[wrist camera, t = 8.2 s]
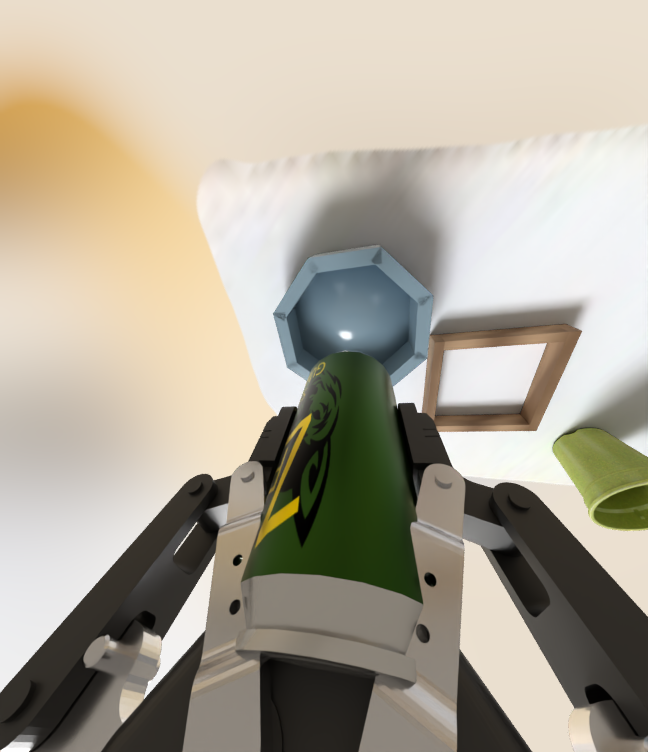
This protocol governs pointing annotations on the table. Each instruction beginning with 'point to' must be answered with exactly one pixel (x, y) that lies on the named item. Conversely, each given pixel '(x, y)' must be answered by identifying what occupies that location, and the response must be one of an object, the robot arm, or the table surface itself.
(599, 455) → the plant pot
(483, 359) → the table surface
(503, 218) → the table surface
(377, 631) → the beer can
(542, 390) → the walnut frame
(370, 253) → the slate bowl
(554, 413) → the table surface
